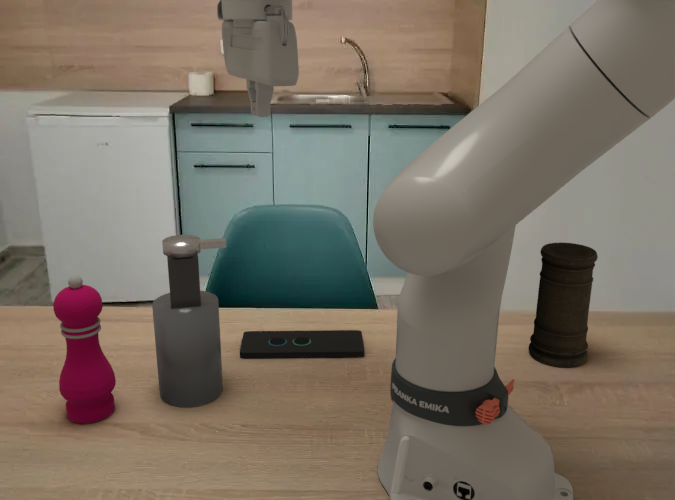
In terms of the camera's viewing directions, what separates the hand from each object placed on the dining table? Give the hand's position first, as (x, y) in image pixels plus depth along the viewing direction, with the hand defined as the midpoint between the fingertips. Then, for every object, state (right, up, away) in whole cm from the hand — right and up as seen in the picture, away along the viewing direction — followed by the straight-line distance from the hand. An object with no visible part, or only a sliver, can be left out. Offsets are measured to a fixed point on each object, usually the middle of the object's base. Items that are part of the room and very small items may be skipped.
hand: (260, 115), depth 93 cm
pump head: (-9, -25, +4) cm, 27 cm away
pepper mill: (-24, -40, +3) cm, 47 cm away
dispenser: (-11, -38, +8) cm, 41 cm away
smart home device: (+5, -35, +22) cm, 41 cm away
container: (+46, -35, +20) cm, 61 cm away
